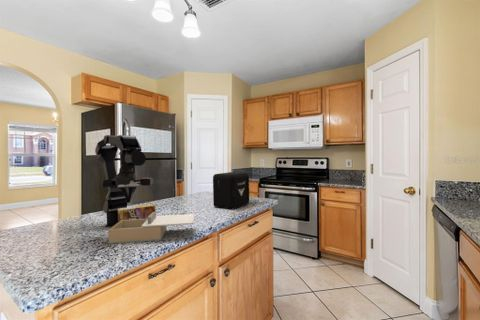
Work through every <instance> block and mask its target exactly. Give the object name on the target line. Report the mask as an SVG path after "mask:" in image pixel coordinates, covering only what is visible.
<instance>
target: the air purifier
mask: <svg viewBox="0 0 480 320" xmlns="http://www.w3.org/2000/svg"><path fill="white" fill-rule="evenodd" d="M212 192H213V193H212V195H213V196H212V197H213V199H212V200H213V202H212V203H213V207H215V208H219V209H220V208H222V209H229V210H234V209H238V208H241V207H243V206H246V205H248V204H249V203H250V175H249V174H248V172H236V171H235V172H232V171H231V172H222V173H221V172H220V173H215V174H213V176H212Z"/></svg>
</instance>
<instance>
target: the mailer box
mask: <svg viewBox="0 0 480 320" xmlns="http://www.w3.org/2000/svg"><path fill="white" fill-rule="evenodd" d="M146 220H147V219H132V220H121V221H120V222H118V223H117V224H116V225H114V226H111V227H110V228H109V229H108V233H107V234H108V245H110V244H124V243H125V244H126V243H138V242H139V243H140V242H150V241H151V242H153V241H162V239H163V237H164V235H165V234H166V231H167V229H168V226H154V227H141V226H142V225H143V224H144V222H145V221H146Z"/></svg>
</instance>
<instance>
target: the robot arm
mask: <svg viewBox="0 0 480 320" xmlns="http://www.w3.org/2000/svg"><path fill="white" fill-rule="evenodd" d="M94 150H95V155H96V157H97V160H99V162H100V163H101V164H102V165H103V171H104V175H105V176H104V177H105V179H103V180H102V181H101V187H102V188H107V191H108V192H107V194H106V195H105V201H104V202H103V203H104V204H103V207H102V211H103V213H105V214H106V224H105V226H104V227H113V226H114V225H116V224H117V223H118V209H119V208H128V204H131V201H132V199H133V196H134V194H135V192H136V190H137V188H139V187H140V185H141V186H152V185H154V179H153V177H142V178H139V179H137V174H136V173H137V171H136V170H137V167H139V166H143V165H144V164H145V163H146V160H147V157H146V154H145V153H144V152H142V146H141V144H140V142H139V140H138V138H137V136H136V135H125V134H124V135H123V134H119V135H113V134H106V135H104V136H103V138H102V139H101V140H99V141H98V142H97V144H96V147H95V149H94ZM118 150H119V153H118V155H119V166H120V167H119V169H118V171H119V172H118V173H117V169H116V164H115V159H116V157H117V152H118ZM136 166H137V167H136Z"/></svg>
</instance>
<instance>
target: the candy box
mask: <svg viewBox="0 0 480 320" xmlns="http://www.w3.org/2000/svg"><path fill="white" fill-rule="evenodd" d="M152 212H156V204H152V203H151V204H146V205H145V204H144V205H137V206H130V207H129V206H127V208H119V209H118V222H120V221H121V220H132V219H148V218H147V217H148V216H149V215H150V214H151V213H152Z"/></svg>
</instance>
